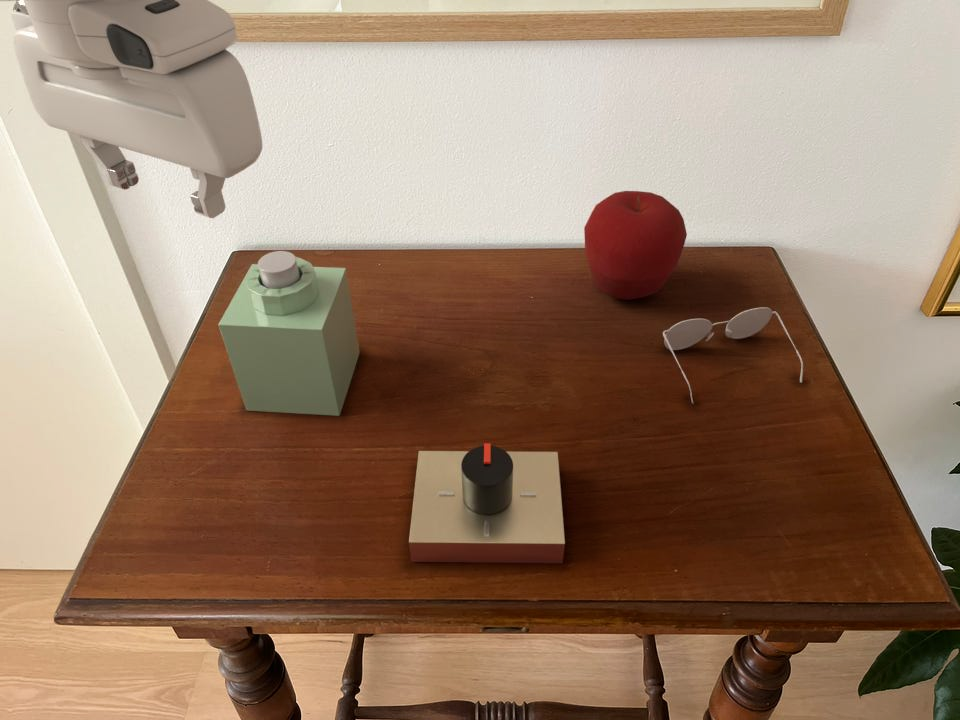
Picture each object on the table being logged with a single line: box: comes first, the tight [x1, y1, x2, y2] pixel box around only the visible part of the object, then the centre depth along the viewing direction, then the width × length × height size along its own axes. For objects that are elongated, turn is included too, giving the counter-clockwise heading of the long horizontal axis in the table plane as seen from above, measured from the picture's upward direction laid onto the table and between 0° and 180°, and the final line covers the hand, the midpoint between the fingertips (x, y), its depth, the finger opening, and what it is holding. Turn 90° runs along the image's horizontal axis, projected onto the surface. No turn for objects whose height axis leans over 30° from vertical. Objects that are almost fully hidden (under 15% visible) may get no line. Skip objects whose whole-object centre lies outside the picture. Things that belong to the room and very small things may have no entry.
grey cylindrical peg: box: [257, 250, 300, 289], centre depth 69 cm, size 4×4×2 cm
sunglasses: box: [662, 306, 804, 404], centre depth 79 cm, size 14×8×5 cm, turn 104°
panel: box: [408, 450, 566, 564], centre depth 65 cm, size 10×13×3 cm
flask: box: [217, 256, 361, 417], centre depth 75 cm, size 10×10×14 cm
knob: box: [461, 442, 513, 514], centre depth 62 cm, size 4×4×4 cm
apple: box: [583, 190, 688, 301], centre depth 86 cm, size 12×12×13 cm
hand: (167, 198), depth 57 cm, fingers open, 8 cm apart
